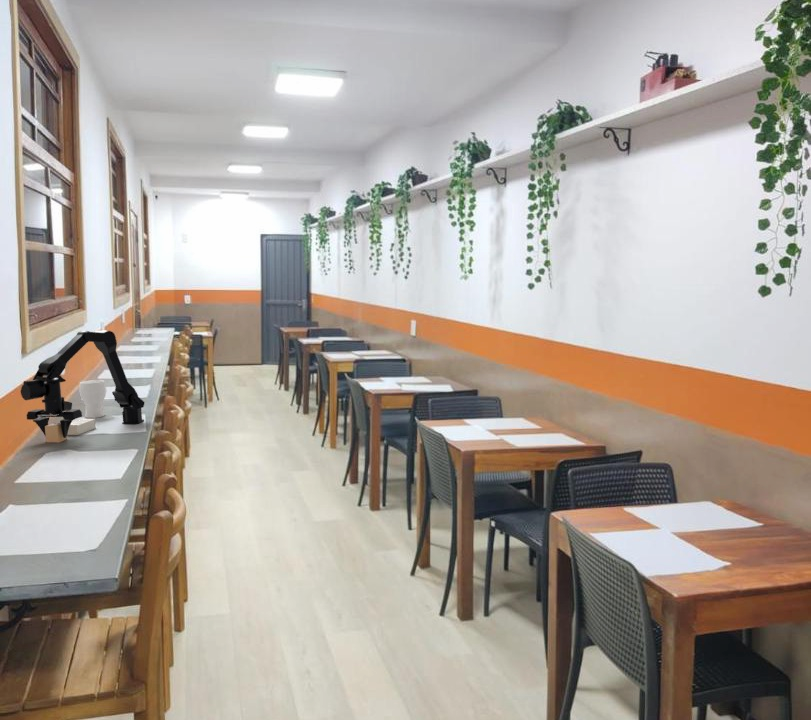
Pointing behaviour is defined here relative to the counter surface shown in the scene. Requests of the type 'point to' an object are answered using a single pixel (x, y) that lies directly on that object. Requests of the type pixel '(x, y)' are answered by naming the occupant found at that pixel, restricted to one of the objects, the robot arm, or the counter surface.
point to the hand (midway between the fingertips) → (56, 437)
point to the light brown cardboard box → (54, 433)
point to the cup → (93, 397)
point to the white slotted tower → (81, 426)
